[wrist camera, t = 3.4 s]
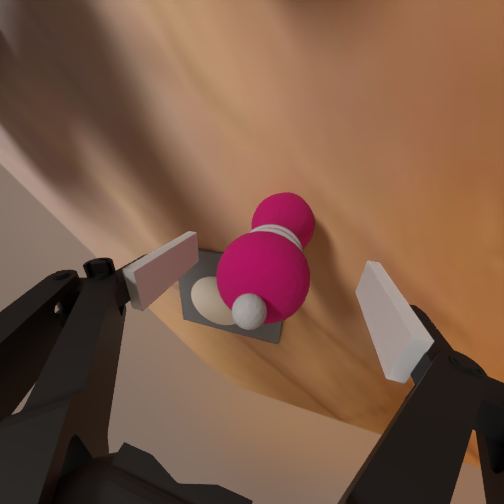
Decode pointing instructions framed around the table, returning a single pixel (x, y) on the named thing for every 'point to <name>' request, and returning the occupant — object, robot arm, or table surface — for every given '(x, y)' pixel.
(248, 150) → the table surface
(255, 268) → the pepper mill
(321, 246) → the table surface
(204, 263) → the mat
